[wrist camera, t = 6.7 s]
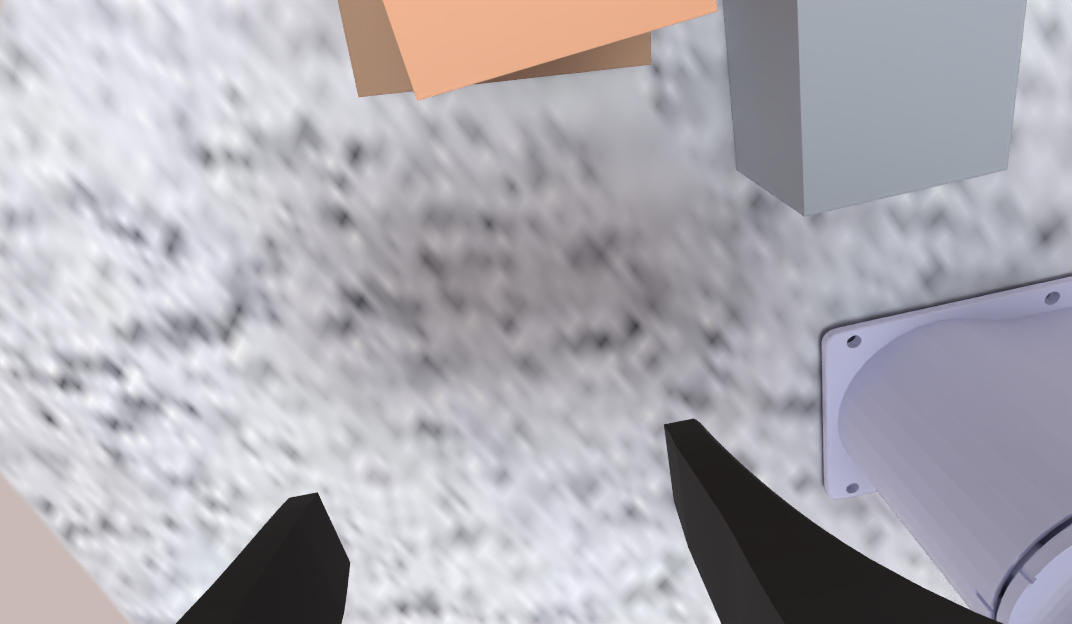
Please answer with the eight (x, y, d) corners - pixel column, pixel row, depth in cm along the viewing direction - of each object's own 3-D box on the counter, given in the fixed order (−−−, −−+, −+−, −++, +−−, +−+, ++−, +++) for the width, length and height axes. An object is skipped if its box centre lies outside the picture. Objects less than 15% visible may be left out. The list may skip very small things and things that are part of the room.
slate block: (897, -46, 18) (1033, -62, 13) (891, 132, 20) (1007, 169, 15) (721, -2, 18) (796, -3, 13) (735, 169, 20) (804, 216, 16)
